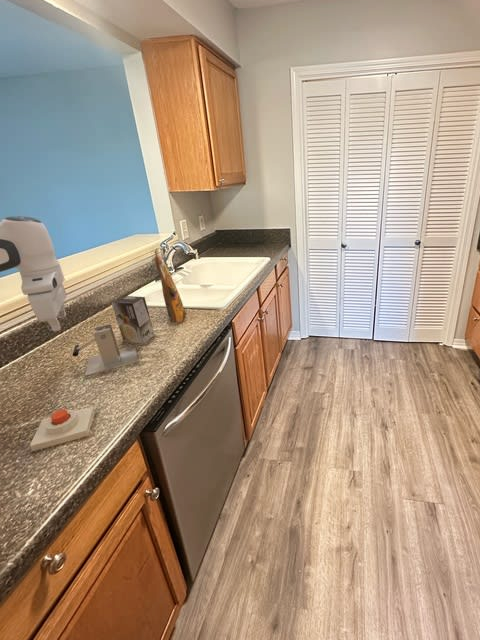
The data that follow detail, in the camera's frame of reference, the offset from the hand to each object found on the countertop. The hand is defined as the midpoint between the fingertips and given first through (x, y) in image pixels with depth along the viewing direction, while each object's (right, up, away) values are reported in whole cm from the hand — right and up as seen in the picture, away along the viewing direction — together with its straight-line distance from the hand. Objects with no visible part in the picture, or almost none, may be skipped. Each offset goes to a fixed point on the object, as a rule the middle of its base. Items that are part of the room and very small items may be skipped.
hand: (60, 323), depth 93 cm
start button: (+13, -22, -17) cm, 31 cm away
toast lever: (+6, -7, +6) cm, 11 cm away
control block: (+13, -25, -16) cm, 32 cm away
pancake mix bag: (+18, 0, +41) cm, 45 cm away
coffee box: (+11, -8, +24) cm, 28 cm away
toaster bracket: (+9, -13, +10) cm, 19 cm away
